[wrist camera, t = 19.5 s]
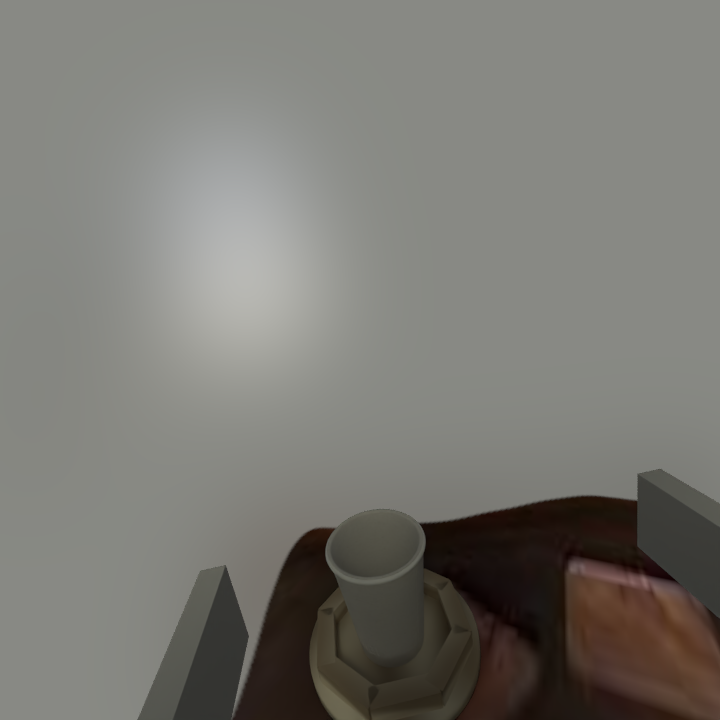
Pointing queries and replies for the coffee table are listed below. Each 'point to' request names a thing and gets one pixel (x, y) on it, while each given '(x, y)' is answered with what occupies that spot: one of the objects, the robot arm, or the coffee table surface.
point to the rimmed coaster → (404, 683)
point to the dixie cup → (382, 582)
